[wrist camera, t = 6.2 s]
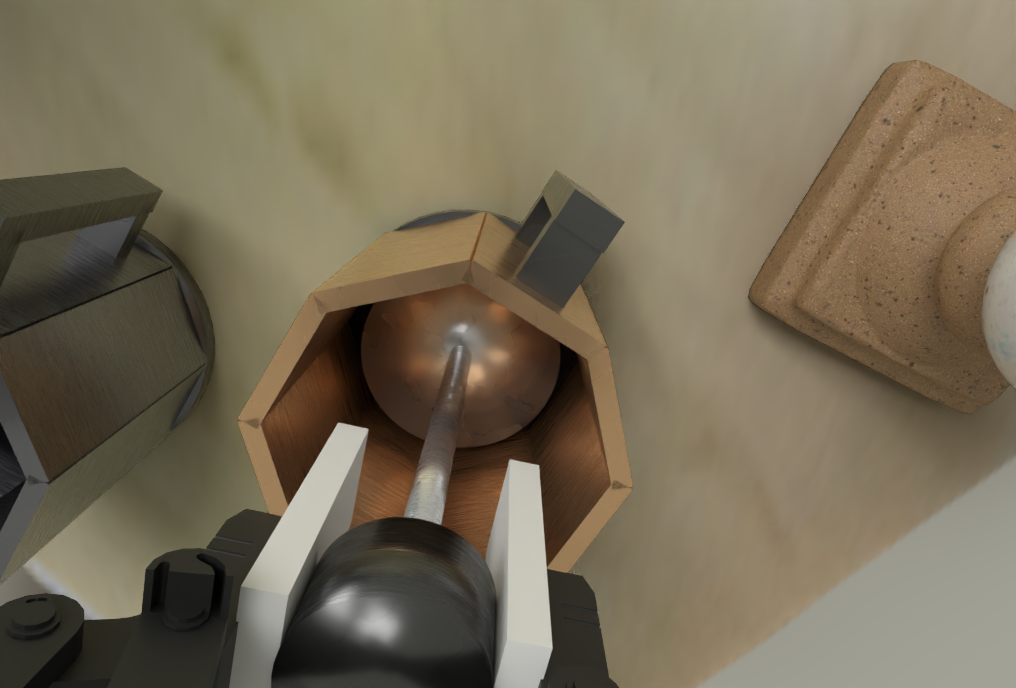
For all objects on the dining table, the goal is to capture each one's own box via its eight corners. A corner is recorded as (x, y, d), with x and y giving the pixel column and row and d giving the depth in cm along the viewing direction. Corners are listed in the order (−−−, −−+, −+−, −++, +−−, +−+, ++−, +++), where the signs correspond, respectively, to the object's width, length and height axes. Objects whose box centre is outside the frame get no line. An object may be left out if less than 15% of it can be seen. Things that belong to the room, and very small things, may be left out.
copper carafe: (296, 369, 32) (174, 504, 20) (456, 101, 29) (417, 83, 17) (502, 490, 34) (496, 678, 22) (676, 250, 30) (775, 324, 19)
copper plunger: (329, 376, 30) (55, 747, 12) (429, 214, 28) (278, 369, 10) (491, 472, 31) (460, 936, 13) (597, 323, 29) (731, 632, 11)
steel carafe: (-72, 366, 32) (-400, 499, 21) (43, 99, 29) (-270, 79, 17) (151, 487, 34) (-37, 672, 22) (285, 247, 30) (146, 320, 19)
